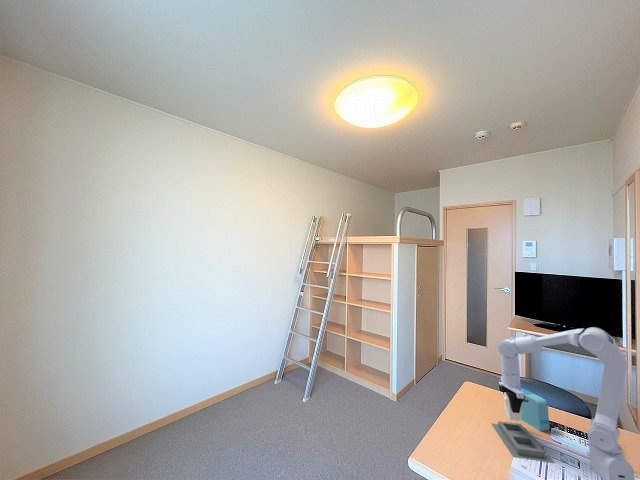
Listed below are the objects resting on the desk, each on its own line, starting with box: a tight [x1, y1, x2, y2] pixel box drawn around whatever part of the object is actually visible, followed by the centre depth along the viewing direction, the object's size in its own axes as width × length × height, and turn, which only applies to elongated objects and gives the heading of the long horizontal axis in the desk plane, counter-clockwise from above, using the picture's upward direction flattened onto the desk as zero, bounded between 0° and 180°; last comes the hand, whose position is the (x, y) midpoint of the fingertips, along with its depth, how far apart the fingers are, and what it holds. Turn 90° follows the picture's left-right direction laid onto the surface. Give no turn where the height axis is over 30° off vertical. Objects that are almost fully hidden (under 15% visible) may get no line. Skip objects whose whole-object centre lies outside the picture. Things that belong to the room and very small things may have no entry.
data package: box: [521, 387, 550, 432], centre depth 108 cm, size 12×4×12 cm, turn 11°
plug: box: [503, 392, 529, 422], centre depth 101 cm, size 4×8×8 cm, turn 76°
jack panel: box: [491, 421, 556, 464], centre depth 96 cm, size 19×12×3 cm, turn 166°
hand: (512, 409), depth 101 cm, fingers closed on plug, 4 cm apart
